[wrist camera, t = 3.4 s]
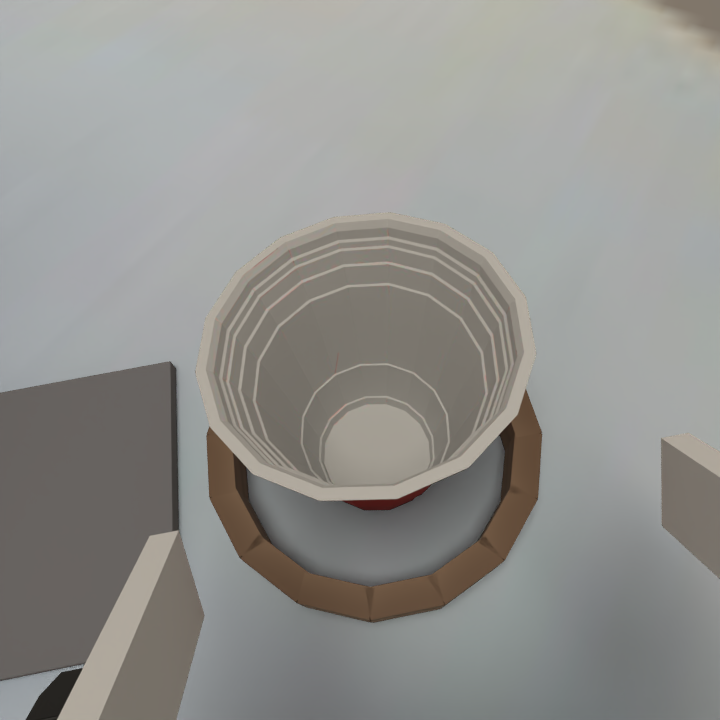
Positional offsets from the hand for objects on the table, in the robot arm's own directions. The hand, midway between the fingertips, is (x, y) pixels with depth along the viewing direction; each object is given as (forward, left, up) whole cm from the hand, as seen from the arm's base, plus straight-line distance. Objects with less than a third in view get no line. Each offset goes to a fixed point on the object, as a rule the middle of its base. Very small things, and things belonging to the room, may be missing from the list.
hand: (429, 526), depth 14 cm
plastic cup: (-1, +6, -12) cm, 13 cm away
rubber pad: (-18, +6, -11) cm, 22 cm away
